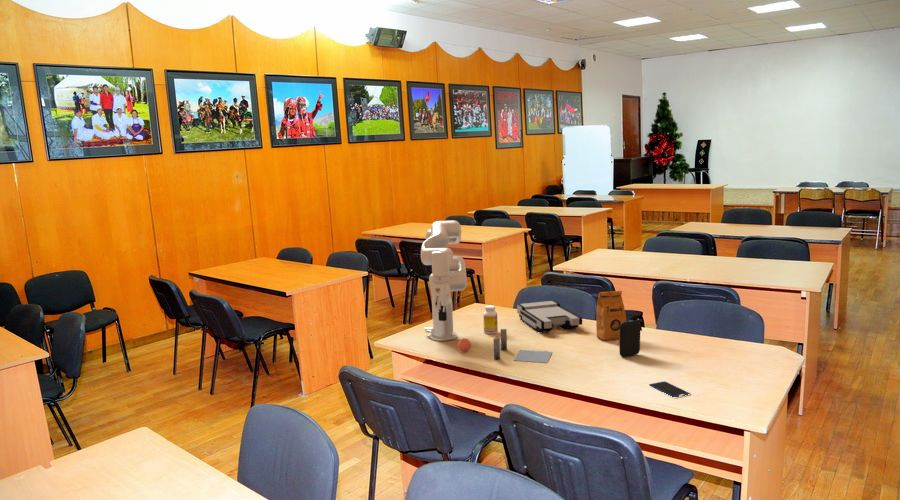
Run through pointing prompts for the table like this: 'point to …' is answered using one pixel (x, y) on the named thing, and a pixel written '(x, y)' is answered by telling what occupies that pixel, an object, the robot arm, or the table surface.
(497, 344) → the post
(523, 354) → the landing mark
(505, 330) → the post
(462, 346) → the ball
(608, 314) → the coffee package
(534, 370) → the table surface
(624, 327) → the carrying case or bag
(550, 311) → the game console
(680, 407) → the table surface
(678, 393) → the cell phone
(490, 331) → the supplement bottle
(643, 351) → the table surface
